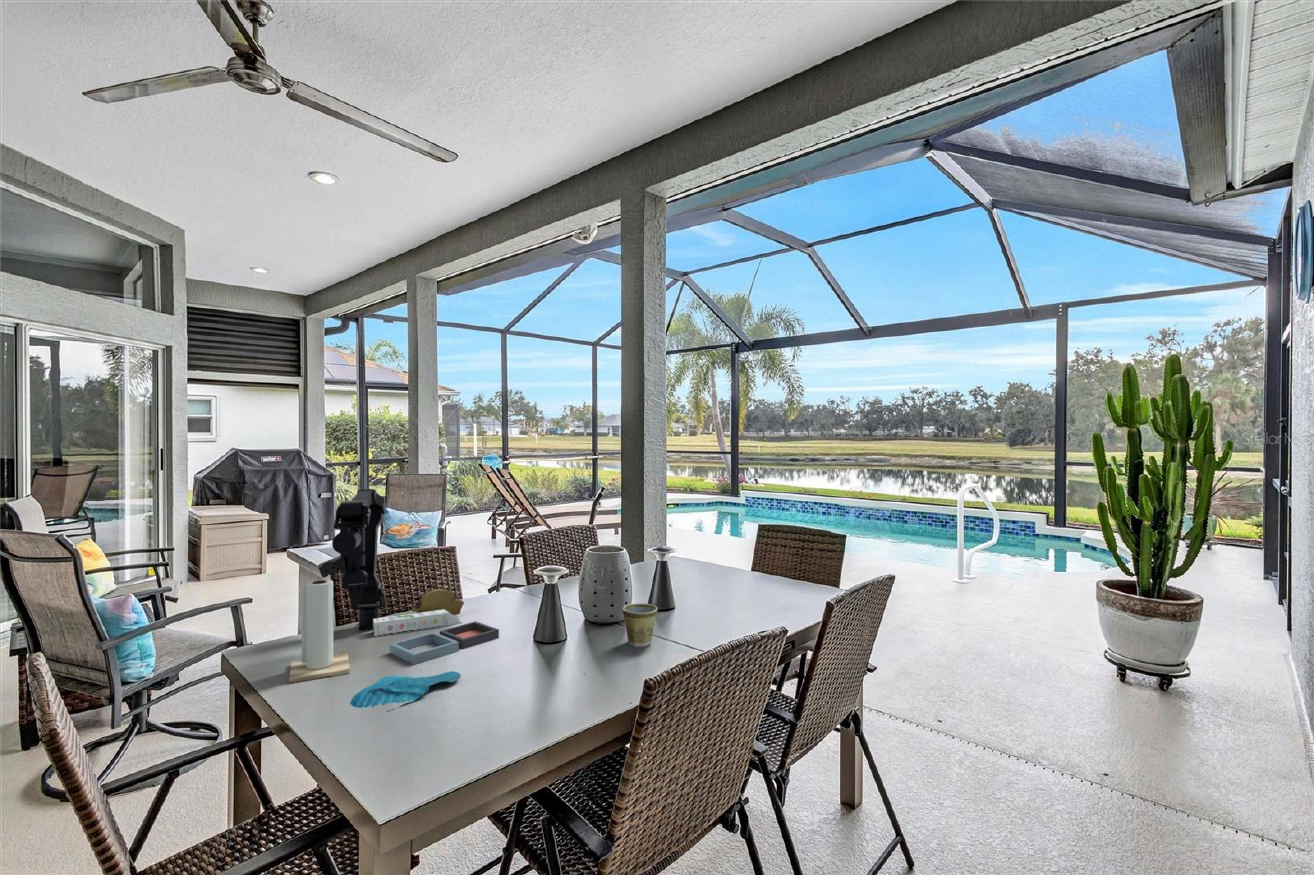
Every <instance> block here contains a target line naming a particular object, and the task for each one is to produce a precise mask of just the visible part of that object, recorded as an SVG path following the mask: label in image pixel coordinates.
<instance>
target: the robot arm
mask: <svg viewBox="0 0 1314 875" xmlns="http://www.w3.org/2000/svg"><path fill="white" fill-rule="evenodd" d="M356 491H357V492H356V494H355V495H354V497H352V499H351V500H346V501H345V500H344V501H342V502H340V503H339V505H338V506H337V507H336V511H335V518H334V523H333V529H334V530H335V529H336V530H337V529H338V530H339V532H338V533H337V534H336V535H335V536H333V539H332V541H331V545H332V548H333V550H334V551H335V552H337V553H338V554H339V556H336V557H333V558H331V559H328V560H326V561H323V562H321V563H319V564H318V565H317V568H318V571H319V573H320V575H321V578H323V579H324V578H328V577H329V576H330V575H332V574H335V573H337V572H339V574H340V577H341V578H340V581H341V582H340V583H341V587H342V588H344V589H345V590H347V592H348V597H349V600H350V601H349V602H350V606H351V609H352V611H355V610H358V612H357V613H358V617H357V618H358V620H357V621H358V623H356V630H362V631H367V630H366V629H369V630H373V619H377V618H380V612H379V611H380V610H379V609H382V608H383V607H386V605H387V604H386V603H387V602H386V595H385V592H384V589H383V588H382V582H381V581H380V579H379V578H378V575H377V560H378V559H377V558H378V538H379V537H378V535H379V528H380V527H381V525H382V523H383V522H384V520H385V515H386V513H387V503H386V499H385V497H383V496H382V495H380V493H378V492H377V490H376V489H374V488H361V489H358V490H356ZM357 625H358V626H357Z"/></svg>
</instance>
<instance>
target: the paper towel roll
mask: <svg viewBox="0 0 1314 875" xmlns="http://www.w3.org/2000/svg"><path fill="white" fill-rule="evenodd" d="M300 585H301V587H300V588H301V589H300V591H301V592H300V594H301V595H300V596H301V599H300V600H301V601H300V603H301V606H300V607H301V608H300V609H301V610H300V612H301V614H300V615H301V630H300V631H301V660H302V664H304V663H306V666H307V668H308V669H320V668H325V667H328V666H330V665H332V664H333V655H334V581H333V580H332V579H318V580H317V579H315V580H309V581H301V584H300Z"/></svg>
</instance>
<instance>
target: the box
mask: <svg viewBox="0 0 1314 875" xmlns="http://www.w3.org/2000/svg"><path fill="white" fill-rule="evenodd" d="M462 624H463V622H462V621H460V618H458V617H457V616H456V615H452V614H451V613H449V611H446V610H445V609H443V610H436V611H429V612H421V613H417V612H416V613H415V612H414V613H409V614H408V613H407V614H401V615H391V616H385V617H379V618H377V619H373V629H372V633H373V632H374V630H375V632H374V636H375V635H381V636H383V635H382V634H387V635H390V634H389V633H394V632H400V631H405V630H414V631H418V630H417V629H421V630H424V629H423V628H428V629H430V628H429V627H435V628H438V627H437V626H441V627H444V626H443V625H448V626H454V625H462ZM394 634H395V633H394Z"/></svg>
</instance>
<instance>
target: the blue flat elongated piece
mask: <svg viewBox="0 0 1314 875" xmlns="http://www.w3.org/2000/svg"><path fill="white" fill-rule="evenodd" d="M412 677H413V676H407V675H390V676H384V677H382V678H380V679H379V680H377V681H376V682H374V683H373V684H371V685H370V686H366V687H364V688H363V689H361V690H360V691H359V692H357V693H356V694H354V696H353V697H352V698H351V700H350V702H349V704H350V706H352V707H353V708H359V709H362V708H369V707H370V706H371V708H374V707H376V706H378V705H382V706H384V705H388V704H393V703H396V704H399V703H402V704H401V705H400V706H399V707H397V708H401V707H403V706H405V705H407V703H408V704H411V703H414V702H416V701H417V700H419V698H421V697H422V696H424V695H426V694H427V693H428V692H429V689H430V686H433V685H435V684H438V683H441V682H447V683H448V682H449V683H453V682H455V681H456V680H459V679H460V678H461V673H460V672H457V671H452V670H451V671H447V672H442V673H441V674H438V675H432V676H425V677H424V676H421V677H413V678H412ZM411 700H412V701H411ZM406 701H407V702H406ZM380 703H381V704H380ZM382 703H383V704H382ZM387 703H388V704H387ZM389 711H394V708H392V709H390V710H389V709H388V712H389Z"/></svg>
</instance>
